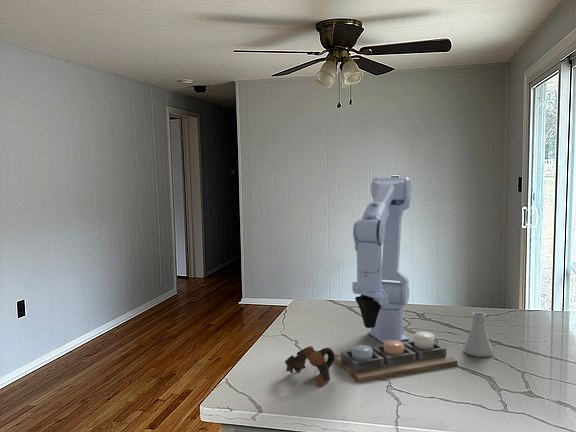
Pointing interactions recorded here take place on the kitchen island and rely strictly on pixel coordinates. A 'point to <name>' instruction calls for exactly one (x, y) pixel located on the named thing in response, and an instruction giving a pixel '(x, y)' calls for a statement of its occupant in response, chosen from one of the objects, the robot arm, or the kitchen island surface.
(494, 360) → the kitchen island surface
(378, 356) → the three-slot key tray
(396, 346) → the terracotta key
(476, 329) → the flask
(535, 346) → the kitchen island surface
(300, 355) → the brown animal figure
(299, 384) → the kitchen island surface
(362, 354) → the pale blue dome
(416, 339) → the cream rounded piece
